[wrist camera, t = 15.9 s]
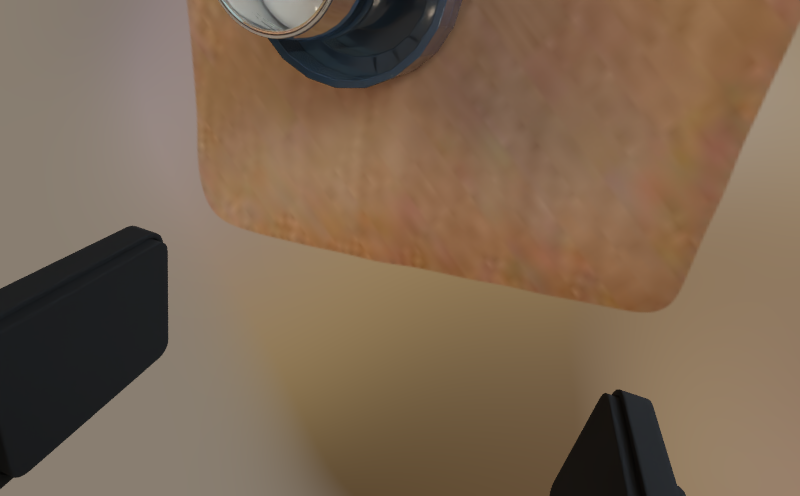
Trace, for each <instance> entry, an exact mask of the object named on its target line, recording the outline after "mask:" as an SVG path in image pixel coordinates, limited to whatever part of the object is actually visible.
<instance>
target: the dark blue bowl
mask: <svg viewBox="0 0 800 496" xmlns="http://www.w3.org/2000/svg"><path fill="white" fill-rule="evenodd" d="M461 3H462V0H410V2H409V5H408V7H407V9H406V11H405V12H404V14H403V15H402V16H401V18H400V19H399V20H398V21H397V22H395V23H394V24H393V25H391V26H390V27H388V28H385V29H383V30H379V31H366V30H362V29H359V28H357V29H356V30H354V31H352V32H350V33H348V34H346V35H343V36H341V37H338V38H335V39H330V40H323V41H294V40H286V39H273V38H268V39H269V40H270V42H271V43H272V44H273V46H274V47H275V49H276V50H277V51H278V53H279V54H280V55H281V57H282V58H283V59H284V60H285V61H287V62H288V63H289V64H291V65H292V66H293V67H295V68H296V69H297V70H298V71H300V72H301V73H302V74H304V75H305V76H306V77H308V78H310V79H313V80H315V81H318V82H321V83H324V84H327V85H329V86H332V87H335V88H367V87H370V86H373V85H376V84H379V83H381V82H384V81H387V80H390V79H393V78H395V77H398V76H401V75H404V74H406V73H409V72H412V71H414V70H416V69H417V68H418V67H420V66H421V65H422V64H423V63H425V62H426V61H427V60H428V59H430V58H431V57H432V56H433V55H435V54H436V52H438V50H439V49H440V47H441V46H442V44H443V43H444V41H445V40H446V38H447V37H448V35H449V34H450V32H451V31H452V29H453V28H454V27H453V26H454V25H455V22H456V19H457V16H458V12H459V9H460V6H461Z"/></svg>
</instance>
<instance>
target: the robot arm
mask: <svg viewBox="0 0 800 496" xmlns="http://www.w3.org/2000/svg"><path fill="white" fill-rule="evenodd" d="M167 253H168V251H167V246H166V244H164V243H163V240H162V238H161V236H160V235H159V234H157V233H154V232H151V231H148V230H145V229H142V228H139V227H136V226H129V227H126V228H125V229H122V230H120V231H118V232H116V233H114V234H112V235H110V236H108V237H106V238H104V239H102V240H100V241H98V242H96V243H93V244H91V245H89V246H87V247H85V248H83V249H81V250H79V251H77V252H75V253H73V254H71V255H69V256H67V257H65V258H63V259H61V260H58V261H56V262H54V263H52V264H50V265H48V266H46V267H44V268H42V269H40V270H38V271H36V272H34V273H32V274H30V275H28V276H26V277H24V278H21V279H19V280H17V281H15V282H13V283H11V284H9V285H7V286H5V287H3V288H1V289H0V489H1V488H2V487H3V486H4V485H5V484H7V483H8V482H9V481H10V480H11V479H12V478H14V477H15V478H16V477H21V476H23V475H25V474H26V473H27V472H29V471H30V470H31V469H32V468H33V467H35V466H36V465H37V464H38V463H39V462H40V461H42V460H43V459H44V458H45V457H46V456H47V455H48V454H50V453H51V452H52V451H53V450H54V449H55V448H56V447H58V446H59V445H60V444H61V443H62V442H63V441H64V440H66V438H68V437H69V436H70V435H71V434H72V433H74V432H75V431H76V430H77V429H78V428H79V427H80V426H82V425H83V424H84V423H85V422H86V421H87V420H88V419H90V418H91V417H92V416H93V415H94V414H95V413H97V411H99V410H100V409H101V408H102V407H103V406H105V404H107V403H108V402H109V401H110V400H111V399H113V398H114V397H115V396H116V395H117V394H118V393H119V392H121V391H122V390H123V389H124V388H125V387H126V386H127V385H129V384H130V383H131V382H132V381H133V380H134V379H135V378H137V377H138V376H139V375H140V374H141V373H142V372H144V370H146V369H147V368H148V367H149V366H150V365H151V364H153V363H154V362H155V361H156V360H157V359H158V358H160V356H161V355H162V354H163V353H164V351H165V349H166V347H167V344H168V258H167V257H168V254H167ZM550 496H686V495H685V492H684V491H683V490H682V489H681V488H680V487H679V486H677V484H676V481H675V477H674V474H673V471H672V467H671V464H670V461H669V458H668V454H667V451H666V448H665V444H664V441H663V438H662V434H661V431H660V428H659V424H658V421H657V418H656V415H655V411H654V408H653V405H652V403H651V401H650V400H648V399H646V398H643V397H640V396H637V395H634V394H631V393H628V392H625V391H622V390H616V391H614V392H613V394H612V395H610V394H607V393H604V394H603V395H602V396H601V398H600V399H599V401H598V403H597V404H596V406H595V408H594V410H593V412H592V414H591V415H590V417H589V419H588V421H587V423H586V425H585V426H584V428H583V430H582V432H581V434H580V435H579V437H578V439H577V441H576V443H575V445H574V446H573V448H572V450H571V452H570V454H569V455H568V457H567V459H566V461H565V463H564V465H563V466H562V468H561V470H560V472H559V474H558V475H557V477H556V479H555V481H554V483H553V485H552V488H551V491H550Z"/></svg>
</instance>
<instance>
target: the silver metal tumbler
mask: <svg viewBox="0 0 800 496" xmlns="http://www.w3.org/2000/svg"><path fill="white" fill-rule="evenodd" d="M218 1H219V2H220V4H221V5H222V7H223V8H224V9H225V11H226V12H227V13H228V14H229V15H230V16H231V17H232V18H233V19H234V20H235V21H236V22H237V23H238V24H239V25H241V26H242V27H243V28H245V29H247V30H248V31H250V32H252V33H254V34H256V35H259V36H262V37H266V38H273V39H286V40H294V41H323V40H330V39H335V38H338V37H341V36H343V35H346V34H348V33H350V32H352V31H354V30H356V29H357V28H359V29H362V30H366V31H379V30H383V29H385V28H388V27H390V26H391V25H393V24H394V23H395V22H397V21H398V20H399V19H400V18H401V16H402V15H403V14H404V12H405V11H406V9H407V7H408V5H409V2H410V0H218Z"/></svg>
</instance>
